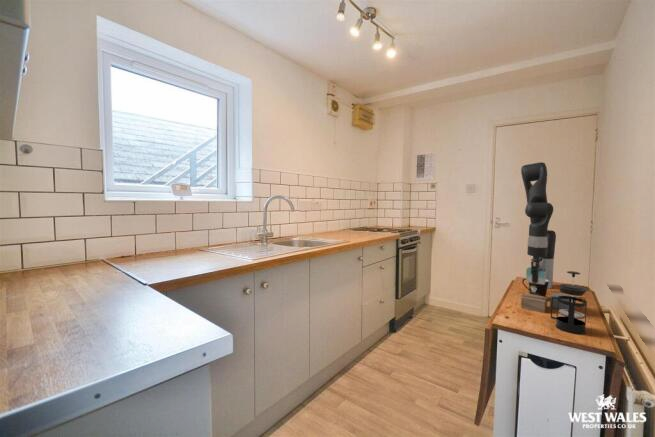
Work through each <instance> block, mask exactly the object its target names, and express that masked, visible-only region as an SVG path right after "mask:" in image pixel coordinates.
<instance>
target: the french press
mask: <svg viewBox="0 0 655 437" xmlns="http://www.w3.org/2000/svg"><path fill="white" fill-rule="evenodd" d="M566 273H567V274H570V275H571V278H572V284H571V283H570V284H568V283H567V284H565V283H560V284H558V287H559V292H560V293H561V294H564V295H569V296H558V297H554V296H552V302H551V308H550V319H552V320H555V321H556V322H555V327H556V328H557V329H558V330H560V331H562V332H565V333H569V334H573V335H585V334H586V333H587V330H586V326H587V312H588V311H587V307H588V301H587V300H585V299H583V298H580V297H582V296H584V295H585V293H586V292H588V290H589V289H588V288H587V287H584V286H581V285H577V284H574V282H575V277H576V275H581V272H577V271H571V270H570V271H569V270H568V271H566ZM571 296H572V297H571ZM573 296H575V297H573ZM553 298H555V299H558V302H560V303H563V304H566V305H569V310H566V309H561V310H560V309H558V302H557V309H556V316H553V308H552V307H553ZM561 299H569V302H568V301H564V300H561ZM575 301H576V303H575ZM578 302H579V303H578ZM575 306H576V307H577V308H578V307H579V308H583V307H585V310H584V311H585V312H584V313H582V312H579V311H576V308H575ZM559 314H560V315H559ZM582 319H584V321H583V320H582Z"/></svg>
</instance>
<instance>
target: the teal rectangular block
mask: <svg viewBox="0 0 655 437" xmlns="http://www.w3.org/2000/svg"><path fill="white" fill-rule="evenodd" d="M525 270H526V273H525V274H526V275H525V279H526V280H525V282H526V283H529V282H530V283H533V282H532V274H531V266H530V267H527V268H526V269H525ZM534 272H536V270H534ZM545 282H546V270H545V269H540V270H539V274H538V283H537V284H543V285H544V284H545Z"/></svg>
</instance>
